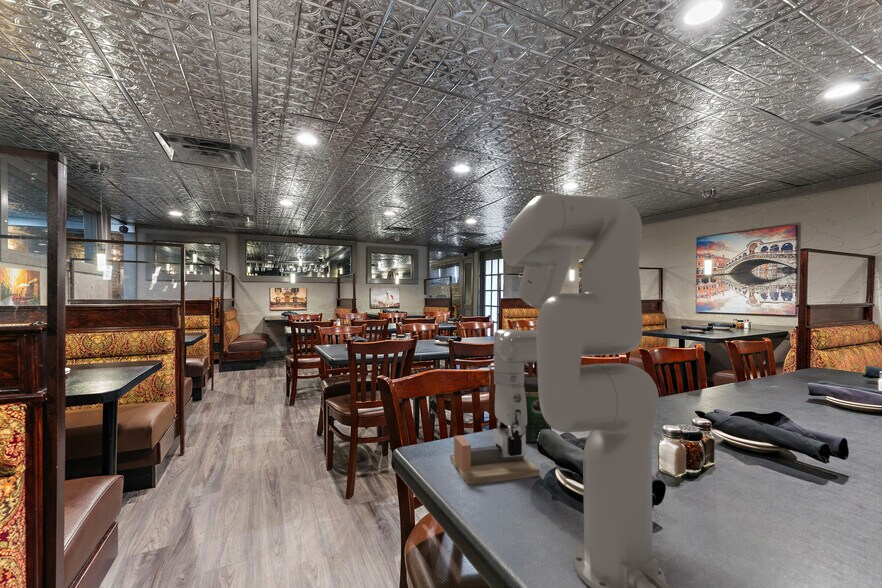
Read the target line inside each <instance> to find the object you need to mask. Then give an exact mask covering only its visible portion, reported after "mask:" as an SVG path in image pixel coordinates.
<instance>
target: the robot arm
mask: <svg viewBox="0 0 882 588" xmlns="http://www.w3.org/2000/svg"><path fill="white" fill-rule="evenodd" d="M642 239H643V224H642V219H641V216H640V213H639V211H638V210H637V208H636V207H635V206H634V205H633V204H631V203H630V202H628V201H626V200H622V199H620V198H619V199H618V198H613V197H603V196H592V195H590V196H589V195H573V194H559V193H557V194H556V193H544V194H540V195H537V196H535V197H533V198H532V199H531V200H530V201H529V202H528V203H527V204H526V205H525V206H524V208H523V209H521V211H520V212H519V214H517V216H515V218H514V219H513V220H512V221H511V222H510V225H509V226H508V227H507V230H506V231H505V233H504V236H503V239H502V243H501V256H502V259H503V261H504V262H505V263H506V264H507V265H508V266H511V267H524V268H523V273H522V276H521V279H520V284H519V286H518V295H519V298H520V300H522V301H523V302H524V303H526V304H527V305H529V306H530V307H532V308H534V309H537V310H539V312H538V314H537V318H536V325H535V326H536V327H535V328H536V330H535V329H533V330H532V329H531V330H527V329H525V330H520V329H512V328H502V329H497V330H496V331H495V332H494V334H493V384H494V385H495V389H494V391H495V393H494V416H495V418H496V422H497V425H496V429H500V428H509V433H510V439H509V455H510V456H516V455H521V454H522V438H523V433H524V431H525V426H526V425H527V406H526V396H525V389H524V386H523V385H524V378H525V363H537V364H536V365H537V366H536V367H537V377H538V394H539V403H540V408H541V412H542V415H543V417H544V419H545V421H546V422H547V424H548V425H549V426H550V427H551V429H553V430H555V431H557V432H561V433H580V432H581V433H582V432H589V433H588V436H587V438H586V441H585V444H584V449H583V457H582V458H583V459H582V460H583V461H582V462H583V465H582V466H583V467H582V468H583V469H582V472H583V473H582V474H583V475H582V476H583V481H582V482H583V484H582V485H583V543H582V544H581V545H579V546H578V547H577V548H576V549H575V551H574V554H573V567H574V570H575V571H576V574H577V575H578V576H579V578H580V579H581V580H582V581H583V583H585V585H587V586H588V587H589V588H672V585H670V584H668V583H667V580H666V576H665V573H664V571H663V570H662V568H661V567H660V566H659V560H658V559H657V558H655V557H654V542H653V541H654V539H653V538H654V537H653V536H654V534H653V532H654V531H653V525H654V524H653V440H654V432H655V427H656V424H657V423H656V422H657V418H658V413H659V405H660V397H659V392H658V391H659V390H658V387H657V385H656V382H655V381H654V380H653V378H652V376H650V374H649V373H647V372H646V371H645V370H644V369H642V368H641V367H639V366H636V365H633V364H628V363H621V362H619V363H616V362H614V363H612V362H611V363H591V364H582V357H590V356H593V357H594V356H610V355H611V356H612V355H623V354H627V353H630V352H633V351H635V350H636V349H637V348H638V347H639V346H640V344H641V341H642V339H643V312H642V311H643V309H642V308H643V307H642V291H641V277H640V275H641V273H640V255H641V254H640V252H641V246H642V245H641V244H642ZM576 247H590V248H589V249H588V251H587V252H586V254H585V256H584V258H583V259H582V261H581V265H580V286H581V287H580V292H579V293H577V292H575V293H574V292H572V293H571V292H570V293H569V292H565V293H561V291H562V288H563V286H564V282H565V279H566V277H567V274H568V270H569V267H570V265H571V262H572V259H573V256H574V253H575V250H576ZM514 424H516V425H514ZM514 428H517V430H515V432H514V433H513V429H514Z"/></svg>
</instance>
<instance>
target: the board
mask: <svg viewBox="0 0 882 588" xmlns="http://www.w3.org/2000/svg"><path fill="white" fill-rule="evenodd" d="M449 458H450V460H451V461H452V462H451V461H450V462H451V464H452V463H453V464H454V465H453V464H452V465H453V467H454V468H455V467H456V468H457V469H456V468H455V469H456V471H457V470H458V471H459V472H458V471H457V472H458V473H460V474H461V475H460V474H459V475H460V476H461V478H462V477H463V478H462V479H463V480H465V481H464V482H465V484H466V483H467V484H466V485H467V486H470V485H469V484H471V485H477V484H476V483H479V484H485V482H487V483H493V482H501V481H508V480H517V479H524V478H534V477H540V468H538V467H537V466H536V465H535V464H534V463H532V462H531V461H530V460H529V459H528V458H526V456H524V460H520V461H511V462H502V463H494V464H485V465H476V466H471V471H465V472H463V471H462V470H461V469H460V467H459V466H458V465H457V463H456V462H455V460H454V454H450V456H449Z"/></svg>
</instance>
